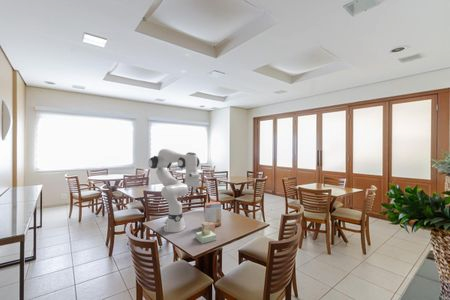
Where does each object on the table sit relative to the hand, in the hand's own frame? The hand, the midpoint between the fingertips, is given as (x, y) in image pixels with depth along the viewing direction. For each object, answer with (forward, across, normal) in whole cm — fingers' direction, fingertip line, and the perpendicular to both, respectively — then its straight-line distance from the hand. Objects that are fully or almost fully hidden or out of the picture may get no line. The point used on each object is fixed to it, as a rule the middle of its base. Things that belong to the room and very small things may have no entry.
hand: (191, 191), depth 166 cm
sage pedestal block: (+37, +5, +10) cm, 39 cm away
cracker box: (+37, -17, +28) cm, 50 cm away
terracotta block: (+37, -6, +20) cm, 43 cm away
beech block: (+33, +5, +10) cm, 35 cm away
